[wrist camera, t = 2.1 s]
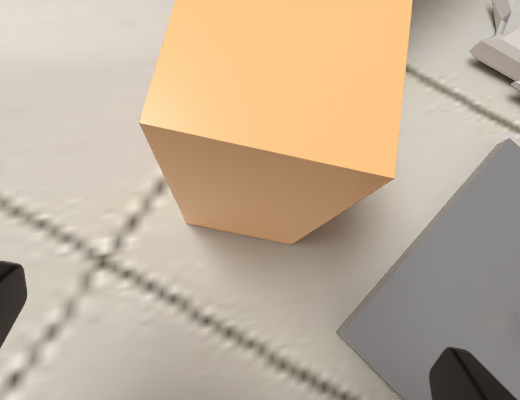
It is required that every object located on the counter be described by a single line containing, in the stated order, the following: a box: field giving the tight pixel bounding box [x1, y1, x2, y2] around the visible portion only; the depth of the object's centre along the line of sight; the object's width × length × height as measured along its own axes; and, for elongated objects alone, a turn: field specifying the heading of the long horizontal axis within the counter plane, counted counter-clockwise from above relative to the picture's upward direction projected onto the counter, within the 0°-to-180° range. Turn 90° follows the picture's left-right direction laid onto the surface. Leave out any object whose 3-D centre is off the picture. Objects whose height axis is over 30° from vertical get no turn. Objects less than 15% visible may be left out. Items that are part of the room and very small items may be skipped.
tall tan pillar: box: [139, 0, 413, 245], centre depth 16 cm, size 6×6×13 cm
